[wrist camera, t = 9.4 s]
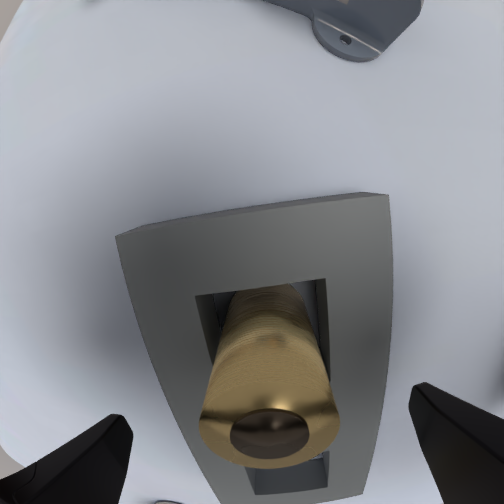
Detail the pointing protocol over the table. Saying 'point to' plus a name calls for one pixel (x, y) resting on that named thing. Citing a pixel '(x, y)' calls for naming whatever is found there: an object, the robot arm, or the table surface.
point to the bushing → (268, 384)
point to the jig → (263, 275)
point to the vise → (356, 23)
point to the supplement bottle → (165, 503)
